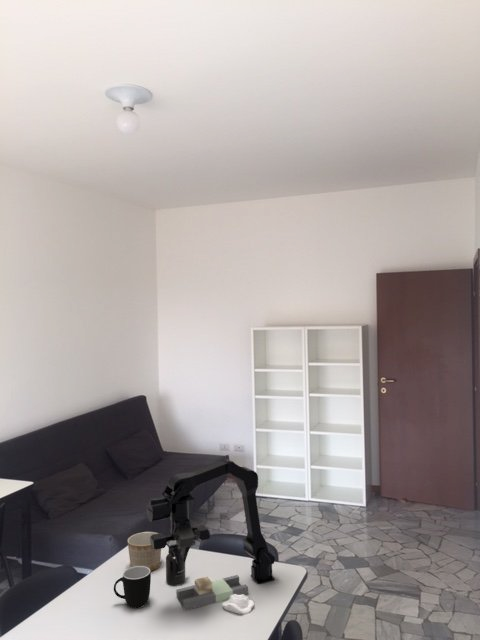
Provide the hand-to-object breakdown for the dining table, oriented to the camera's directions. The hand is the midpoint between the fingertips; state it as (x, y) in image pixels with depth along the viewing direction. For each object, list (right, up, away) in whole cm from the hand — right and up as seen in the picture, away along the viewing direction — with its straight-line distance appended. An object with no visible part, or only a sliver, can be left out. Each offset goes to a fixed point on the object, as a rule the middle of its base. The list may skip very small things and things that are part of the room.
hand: (180, 563), depth 172 cm
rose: (+19, -13, -3) cm, 23 cm away
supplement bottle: (-3, -13, +15) cm, 20 cm away
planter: (-16, -14, +27) cm, 34 cm away
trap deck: (+10, -13, +4) cm, 17 cm away
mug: (-16, -14, +1) cm, 21 cm away
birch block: (+7, -10, +3) cm, 13 cm away
